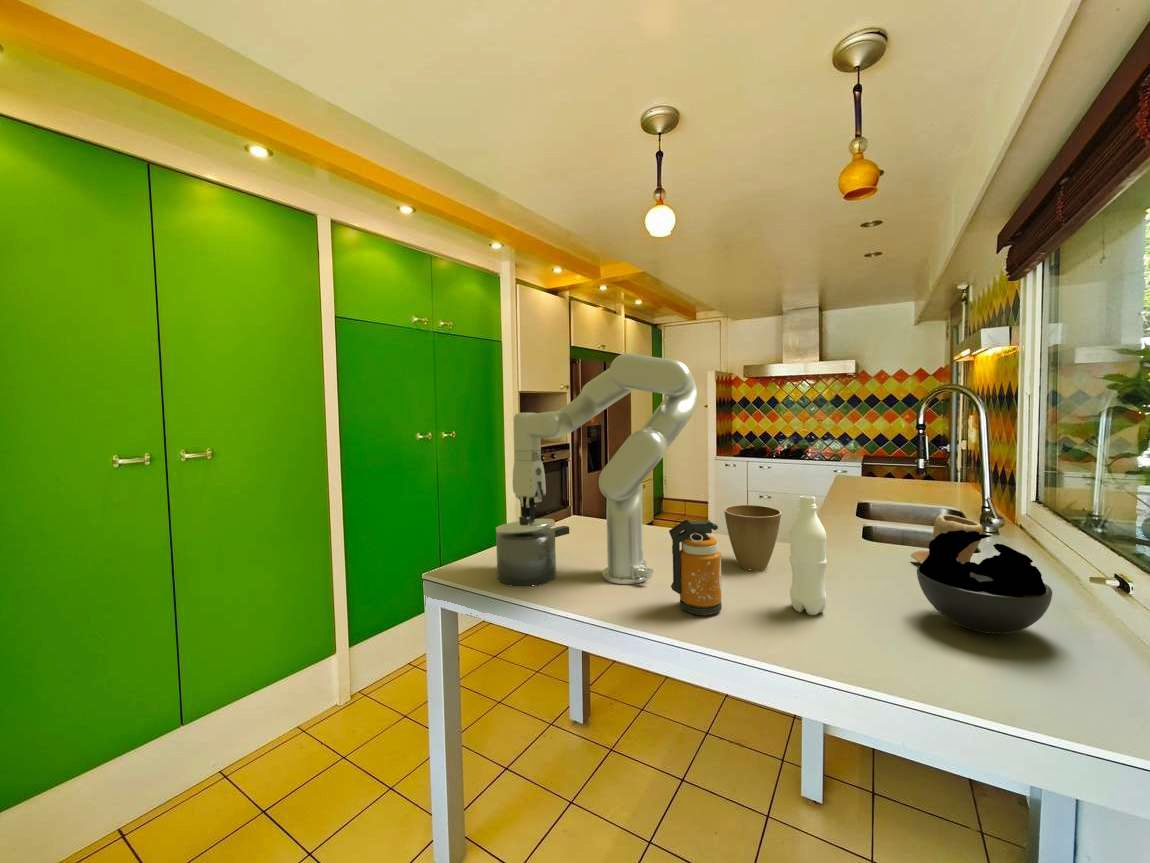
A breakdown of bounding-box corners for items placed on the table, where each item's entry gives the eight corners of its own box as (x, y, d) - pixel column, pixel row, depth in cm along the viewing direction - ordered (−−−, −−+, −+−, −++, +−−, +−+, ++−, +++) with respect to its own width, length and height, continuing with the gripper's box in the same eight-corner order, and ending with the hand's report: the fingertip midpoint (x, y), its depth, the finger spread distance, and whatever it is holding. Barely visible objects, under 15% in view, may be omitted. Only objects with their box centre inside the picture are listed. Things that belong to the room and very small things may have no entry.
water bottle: (812, 620, 98) (811, 501, 97) (782, 607, 104) (782, 496, 103) (834, 612, 101) (833, 497, 100) (804, 601, 108) (803, 492, 106)
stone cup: (993, 583, 115) (994, 522, 114) (937, 581, 118) (938, 521, 117) (958, 563, 130) (958, 509, 129) (909, 561, 132) (909, 509, 132)
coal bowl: (919, 599, 107) (920, 517, 106) (1043, 623, 94) (1045, 530, 93) (912, 633, 91) (913, 537, 90) (1060, 666, 78) (1061, 555, 78)
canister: (726, 617, 100) (725, 524, 99) (674, 618, 101) (673, 525, 100) (715, 600, 109) (714, 515, 108) (667, 601, 110) (665, 516, 109)
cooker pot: (586, 569, 133) (585, 527, 133) (520, 591, 118) (519, 544, 117) (546, 556, 146) (545, 518, 146) (483, 575, 131) (481, 532, 130)
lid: (485, 532, 129) (483, 521, 129) (531, 522, 140) (530, 511, 140) (519, 535, 117) (517, 522, 117) (566, 523, 128) (565, 511, 128)
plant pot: (713, 563, 135) (712, 508, 135) (752, 555, 142) (751, 502, 141) (753, 579, 122) (752, 518, 121) (793, 570, 128) (793, 511, 127)
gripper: (555, 457, 130) (555, 522, 130) (522, 453, 141) (523, 514, 141) (533, 459, 125) (534, 527, 125) (501, 455, 135) (502, 518, 136)
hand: (528, 520), depth 133 cm, fingers closed
